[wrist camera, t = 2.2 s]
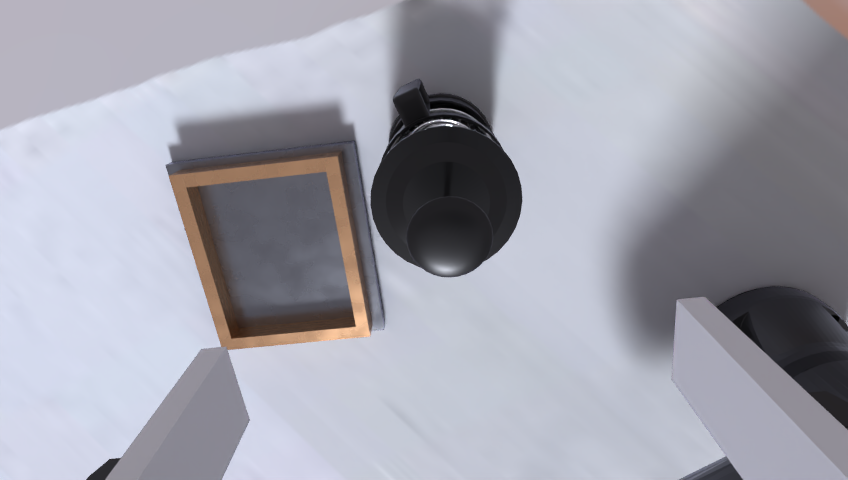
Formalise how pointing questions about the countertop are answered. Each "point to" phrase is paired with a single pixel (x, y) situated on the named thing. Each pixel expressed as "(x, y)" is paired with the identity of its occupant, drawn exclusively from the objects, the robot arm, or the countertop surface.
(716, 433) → the robot arm
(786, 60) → the countertop surface
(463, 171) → the french press
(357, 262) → the rectangular wooden frame
